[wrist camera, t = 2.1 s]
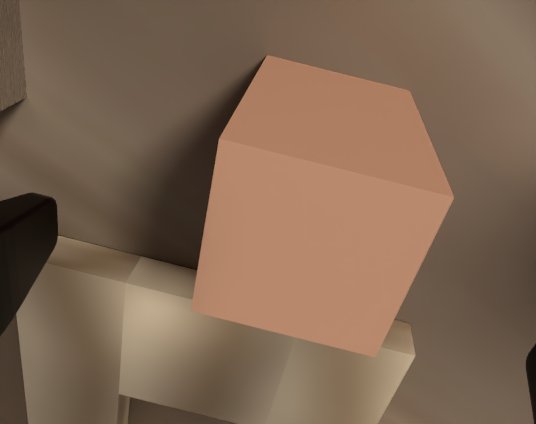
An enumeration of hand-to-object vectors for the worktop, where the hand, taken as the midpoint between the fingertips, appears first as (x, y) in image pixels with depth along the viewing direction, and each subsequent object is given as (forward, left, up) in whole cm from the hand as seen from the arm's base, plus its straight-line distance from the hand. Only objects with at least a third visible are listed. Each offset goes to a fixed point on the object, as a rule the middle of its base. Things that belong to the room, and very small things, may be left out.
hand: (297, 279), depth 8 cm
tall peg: (0, 0, -6) cm, 7 cm away
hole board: (-2, -15, -6) cm, 16 cm away
